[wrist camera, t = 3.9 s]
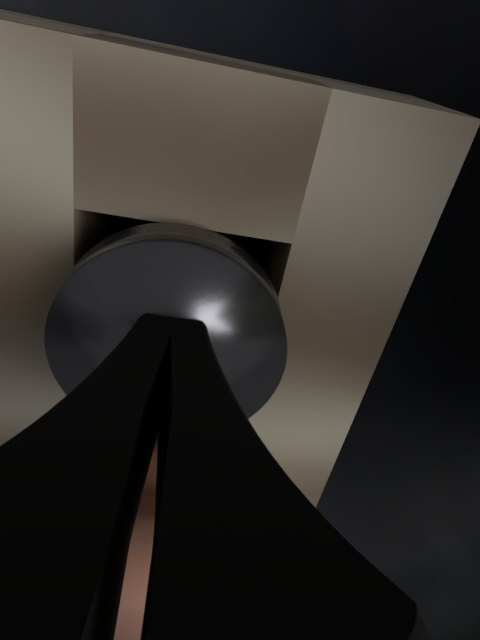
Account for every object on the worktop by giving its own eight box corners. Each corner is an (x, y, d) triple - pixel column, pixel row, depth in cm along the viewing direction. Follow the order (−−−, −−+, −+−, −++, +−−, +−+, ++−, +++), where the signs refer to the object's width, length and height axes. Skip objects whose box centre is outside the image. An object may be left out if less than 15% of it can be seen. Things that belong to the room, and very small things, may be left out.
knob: (158, 361, 16) (138, 467, 12) (56, 234, 13) (-11, 318, 9) (296, 295, 14) (324, 389, 11) (214, 142, 12) (211, 196, 8)
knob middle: (137, 525, 17) (114, 664, 14) (43, 442, 15) (-18, 584, 11) (259, 478, 16) (272, 616, 12) (181, 379, 14) (166, 514, 10)
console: (245, 576, 25) (249, 661, 22) (35, 562, 24) (4, 651, 20) (410, 95, 12) (481, 119, 9) (-15, 5, 11) (-118, -5, 8)
